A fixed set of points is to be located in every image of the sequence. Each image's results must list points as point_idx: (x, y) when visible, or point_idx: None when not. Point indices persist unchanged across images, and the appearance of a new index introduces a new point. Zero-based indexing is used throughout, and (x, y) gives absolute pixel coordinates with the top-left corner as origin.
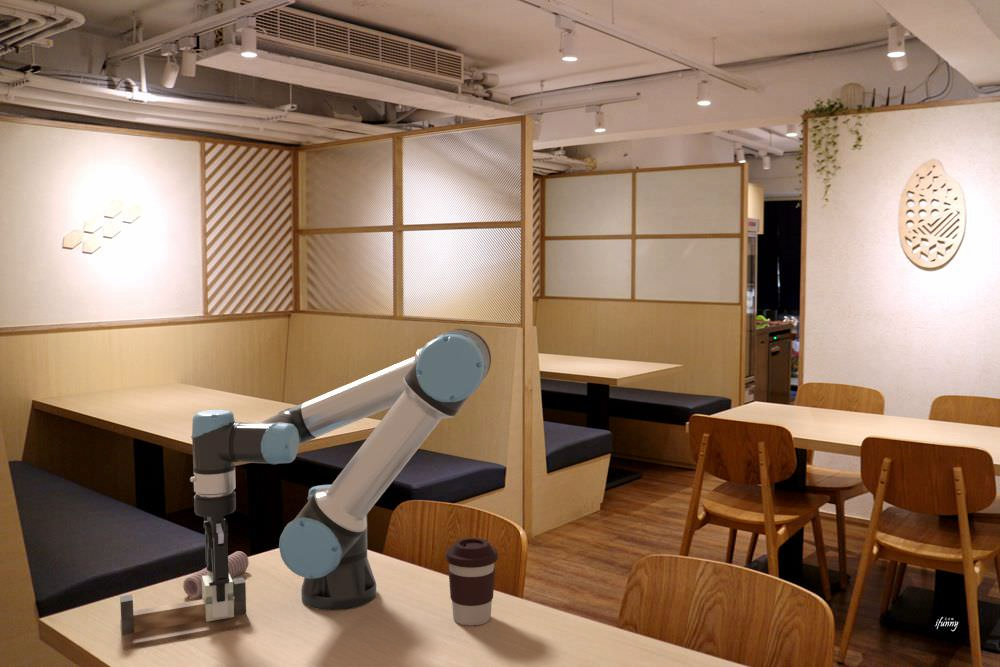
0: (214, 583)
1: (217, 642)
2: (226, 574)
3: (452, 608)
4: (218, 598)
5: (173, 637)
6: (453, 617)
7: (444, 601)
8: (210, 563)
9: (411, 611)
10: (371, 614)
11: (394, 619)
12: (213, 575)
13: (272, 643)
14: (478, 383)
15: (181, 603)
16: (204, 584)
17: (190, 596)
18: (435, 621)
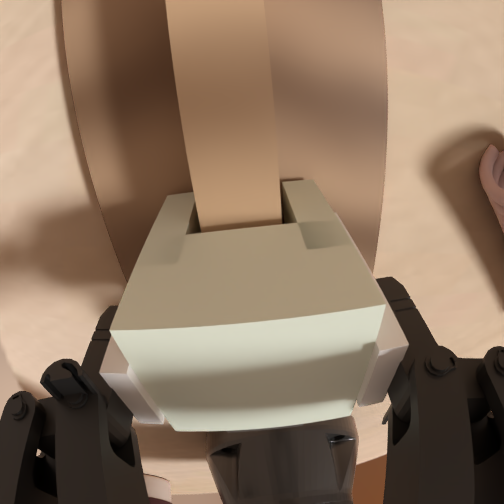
0: (13, 400)
1: (43, 227)
2: (38, 474)
3: (146, 486)
4: (100, 327)
5: (69, 65)
6: (144, 477)
7: (206, 480)
8: (410, 431)
9: (181, 467)
10: (180, 450)
11: (156, 457)
12: (56, 445)
13: (51, 342)
14: None
15: (256, 80)
16: (172, 321)
17: (495, 151)
18: (145, 468)
